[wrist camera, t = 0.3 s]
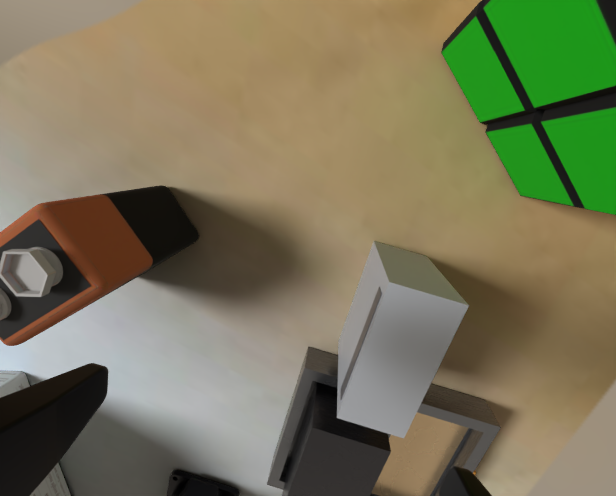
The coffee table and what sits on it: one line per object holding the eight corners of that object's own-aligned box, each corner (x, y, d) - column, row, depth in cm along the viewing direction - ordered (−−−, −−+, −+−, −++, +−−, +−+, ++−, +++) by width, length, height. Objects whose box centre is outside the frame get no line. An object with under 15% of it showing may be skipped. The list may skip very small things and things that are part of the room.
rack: (427, 504, 26) (450, 594, 20) (273, 456, 26) (255, 532, 21) (487, 400, 22) (532, 476, 17) (308, 346, 23) (297, 404, 17)
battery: (204, 236, 21) (90, 301, 12) (134, 279, 23) (-17, 366, 13) (167, 181, 20) (12, 202, 11) (97, 229, 22) (-92, 284, 12)
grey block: (386, 354, 22) (404, 438, 16) (337, 340, 22) (336, 417, 16) (427, 256, 20) (470, 305, 13) (373, 240, 20) (388, 281, 13)
